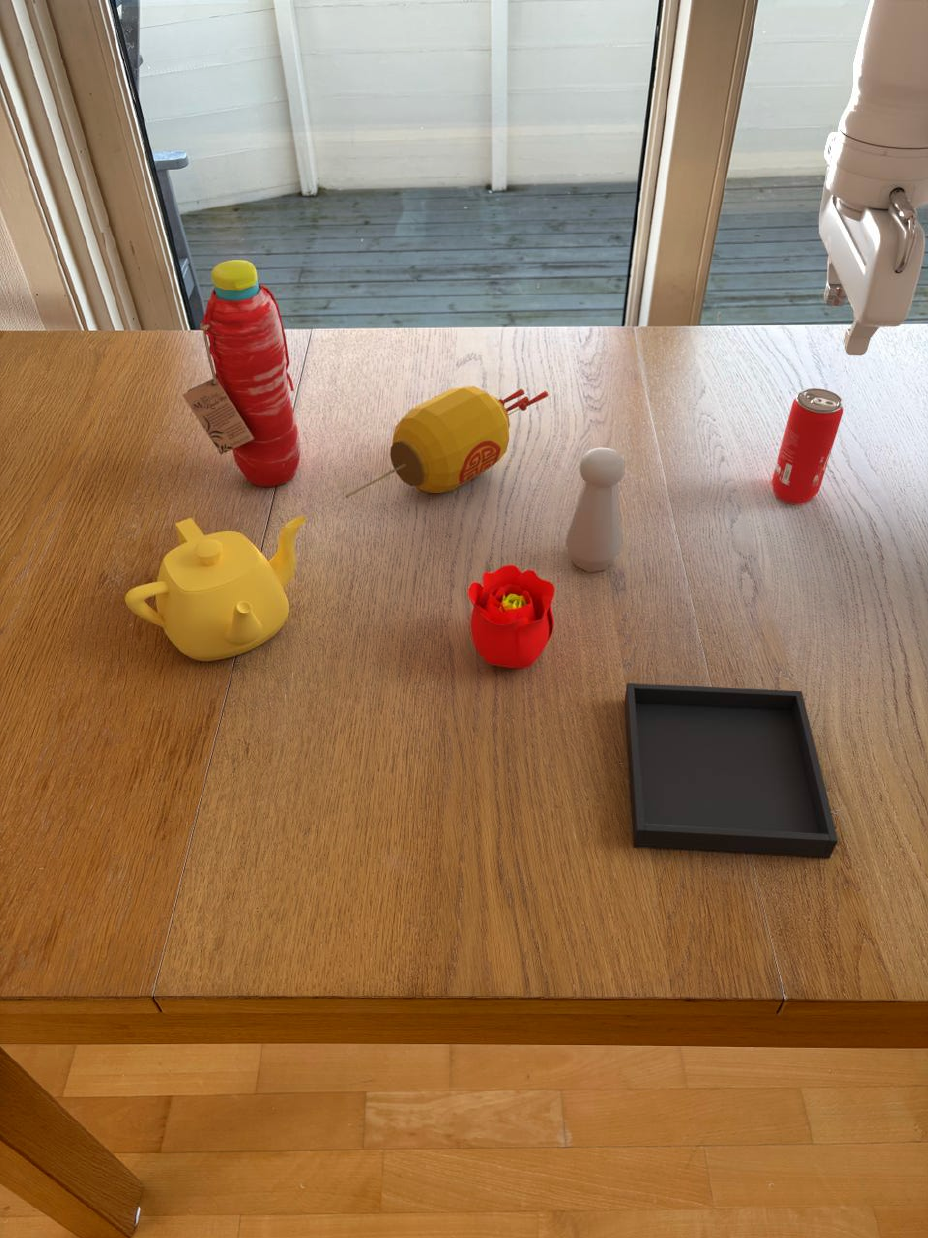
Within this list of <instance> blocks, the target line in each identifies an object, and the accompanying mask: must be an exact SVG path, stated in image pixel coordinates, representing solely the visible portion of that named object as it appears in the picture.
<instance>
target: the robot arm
mask: <svg viewBox="0 0 928 1238" xmlns="http://www.w3.org/2000/svg"><path fill="white" fill-rule="evenodd" d="M868 5H869V6H868V7H867V8H868V9H867V12H866V15H865V18H864V23H863V26H862V29H861V34H860V37H859V41H858V45H857V49H856V54H855V58H854V61H853V67H852V68H853V69H852V73H853V74H852V75H853V85H852V92H851V96H850V99H849V102H848V104H847V107H846V109H845V110H844V112H843V114H842V116H841V118H840V121H839V125H838V129H837V131H833V132H831V133H829V135H828V137H827V139H826V143H825V149H824V159H825V161H826V163H827V168H826V171H825V176H824V182H823V188H822V194H821V201H820V207H819V214H818V234H819V237H820V239H821V241H822V243H823V246H824V248H825V250H826V252H827V255H828V256H827V264H826V266H827V267H826V268H827V269H826V284H825V288H824V293H823V299H824V301H825V303H826V305H827V306H828V307H843V306H844V305H845V304H846V302H847V299H848V302H849V304H850V306H851V309H852V311H853V313H852V317H853V321H852V324H851V326H850V328H846V331H845V333H844V339H843V342H842V345H843V348H844V351H845V353H846V355H848V356H863V355H865V354H866V353H867V352H868V349H869V346H870V342H871V340H872V337H873V336H874V335H875V333H876V332H877V331H878V329H880V327H881V328H885V327H887V328H888V327H890V328H892V327H893V328H894V327H899V326H901V325H902V324H903V323H904V322H905V320H906V319H907V318H908V316H909V313H910V310H911V307H912V303H913V300H914V296H915V293H916V289H917V285H918V282H919V279H920V273H921V270H922V266H923V261H924V256H925V249H926V234H925V231H924V228H923V226H922V224H920V222H919V220H918V211H917V208H920V207H924V206H926V205H928V0H870V2H869V4H868Z"/></svg>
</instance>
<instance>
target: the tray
mask: <svg viewBox="0 0 928 1238" xmlns="http://www.w3.org/2000/svg"><path fill="white" fill-rule="evenodd" d="M623 704H624V706H623V707H624V722H625V736H626V750H627V752H626V754H627V767H628V780H629V781H628V782H629V783H628V784H629V797H630V815H631V830H632V845H633V846H632V847H633V848H643V849H659V850H674V851H675V850H677V851H695V852H712V853H713V852H714V853H728V854H729V853H730V854H745V855H762V856H763V855H764V856H780V857H781V856H783V857H799V858H800V857H801V858H817V859H818V858H819V859H830V858H831V857H832V854H833V852H834V850H835V848H836V846H837V844H838V842H839V839H838V835H837V831H836V827H835V823H834V819H833V813H832V810H831V806H830V801H829V798H828V793H827V789H826V785H825V781H824V778H823V773H822V769H821V765H820V761H819V756H818V752H817V749H816V744H815V740H814V735H813V732H812V727H811V723H810V719H809V714H808V710H807V707H806V702H805V699H804V694H803V691H802V690H787V689H786V690H784V689H767V688H766V689H765V688H743V687H719V686H702V685H701V686H697V685H682V684H681V685H680V684H679V685H676V684H658V683H636V682H635V683H634V682H627V683H626V688H625V694H624V699H623Z"/></svg>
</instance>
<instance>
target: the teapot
mask: <svg viewBox="0 0 928 1238" xmlns="http://www.w3.org/2000/svg"><path fill="white" fill-rule="evenodd" d="M306 520H307V516H306V515H301V516H298V517H294V518H293V519H292V520H290V521H288V522H287V523H286V524H285V525H284V526H283V528H282V529H281V531H280V534H279V539H278V540H279V541H278V547H277V551H276V553H275V554H274V555H273V557H271V559H269V560H268V559H267V558H266V557H265V556H264V554H263V553H262V552H261V551H260V550H259V549H258V547H256V545H254V543H252V542H251V541H250V540H249V539H248V538H247V537H246V536H245V535H244V534H243V533H241V532H239V531H236V530H235V531H234V530H224V531H217V532H212V533H208V534H204V533H203V531H202V530H201V529H200V527H199V526H198V525H197V523H196V522H195V521H194V519H193V518H192V517H189V518H186V519H184V520H181V521H178V522H176V523H174V527H175V530H176V536H177V541H178V546H176V547H175V548H173V549H172V550H170V551H168V553H166V555H164V557H163V559H162V561H161V563H160V567H159V570H158V575H157V579H156V581H154V582H150V583H146V584H142V585H138V586H136V587H133V588H131V589H130V590H129V591H128V592H126V594H125V597H124V601H125V604H126V606H127V607H128V609H129V610H130V611H131V612H132V613H133V614H135V615H136V616H138V618H139V617H140V618H141V619H143V620H145V621H148V622H150V623H152V624H154V625H156V626H159V627H160V628H162V629H163V631H164V633H165V635H166V636H167V637H168V639H169V641H170V642H171V643H172V644H173V645H174V646H175V648H176V649H178V651H179V652H180V653H182V654H183V655H186V656H187V657H188V658H190V659H193V660H195V661H199V662H213V661H219V660H225V659H228V658H232V657H235V656H240V655H243V654H245V653H247V652H249V651H251V650H253V649H256V648H257V647H259V646H261V645H262V644H264V643H266V642H267V641H269V640H271V638H273V637H274V636H275V635H276V634H277V633H279V631H280V630H281V629H282V628H283V626H284V625H285V624H286V621H287V619H288V617H289V613H290V604H289V599H288V597H287V594H286V591H285V588H286V587H287V586H288V585H289V583H290V582H291V580H292V579H293V577H294V574H295V570H296V556H295V538H296V535H297V532H298V531H299V529H300V528H301V527H302V525H303V524H304V523H306ZM151 597H155V604H156V610H157V611H156V610H154V609H153V608H151V607H150V606H149V605H148V603H147V602H146V601H145V600H146V599H149V598H151Z"/></svg>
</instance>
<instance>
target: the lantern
mask: <svg viewBox="0 0 928 1238" xmlns="http://www.w3.org/2000/svg"><path fill="white" fill-rule="evenodd" d="M523 395H525V390H524V389H523V388H520V389H518V390H517V391H515V392H514V393H512V394H510V395H509V396H507V397H505V398H504V399H501V398H499V399H498V398H497V397H495V396H493V395H492V394H491V393H489V392H487V391H485V390H484V389H481V388H479V387H477V386H475V385H470V386H461V387H453V388H449V389H447V390H445V391H444V392H441V393H440V394H437V395H436V396H434V397H432V398H430V399H428V400H426V401H424V402H422V403H420V404H418V405H417V406H414V407H413V408H411V409H410V410H409V411H408V412H407V413H406V414H405V415H404V416H403V417H402V418H401V419H400V420H399V422H398V423H397V424H396V425H395V427H394V431H393V436H392V444H391V446H390V450H389V451H390V452H389V456H390V460H391V465H392V467H393V469H392V470H390V471H388V472H386V473H384V474H382V475H381V476H379V477H377V478H375V479H373V480H371V481H369V482H367V483H366V484H364V485H362V486H361V487H359V488H357V489H355V490H353V491H351V492H349V493H348V494H346V495H345V497H346V498H347V499H348V498H350V497H352V496H354V495H356V494H357V493H359V492H361V491H363V490H365V489H366V488H368V487H370V486H372V485H374V484H376V483H377V482H379V481H381V480H382V479H385V478H387V477H388V476H390V475H392V474H394V473H396V475H398V478H400V479H401V481H402V482H403V483H405V484H407V485H408V486H410V487H416V488H417V489H419V490H420V491H424V492H426V493H428V494H429V493H430V494H443V493H446V492H452V491H454V490H456V489H457V488H459V487H461V486H462V485H465V484H466V483H467V482H469V481H471V480H473V479H474V478H476V477H478V476H479V475H481V474H483V473H484V472H486V471H488V470H489V469H491V468H492V467H493V466H494V465H495V464H497V463H498V462H499V461H500V460H501V459H502V458H503V456H504V455H505V453H506V452H507V449H508V445H509V441H510V427H511V422H510V418H509V416H510V415H512V414H514V413H515V412H518V411H519V410H520V411H523V412H524V411H526V410H527V408H528V407H529V406H531V405H533V404H535V403H537V402H540V401H542V400H543V399H546V398H547V397H549V393H548V391H546V390H544V391H542V392H541V393H539V394H538V395H536V396H534V397H533V398H532V399H530V400H529V397H528V396H524V397H523ZM519 397H522V398H521V399H519V400H518V401H516V402H514V403H513V404H511V405H509V406H508V407H505V404H506V403H509V402H511V401H513V400H515V399H517V398H519ZM516 408H517V409H516ZM512 410H513V411H512ZM510 411H512V412H510ZM509 412H510V413H509Z"/></svg>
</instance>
